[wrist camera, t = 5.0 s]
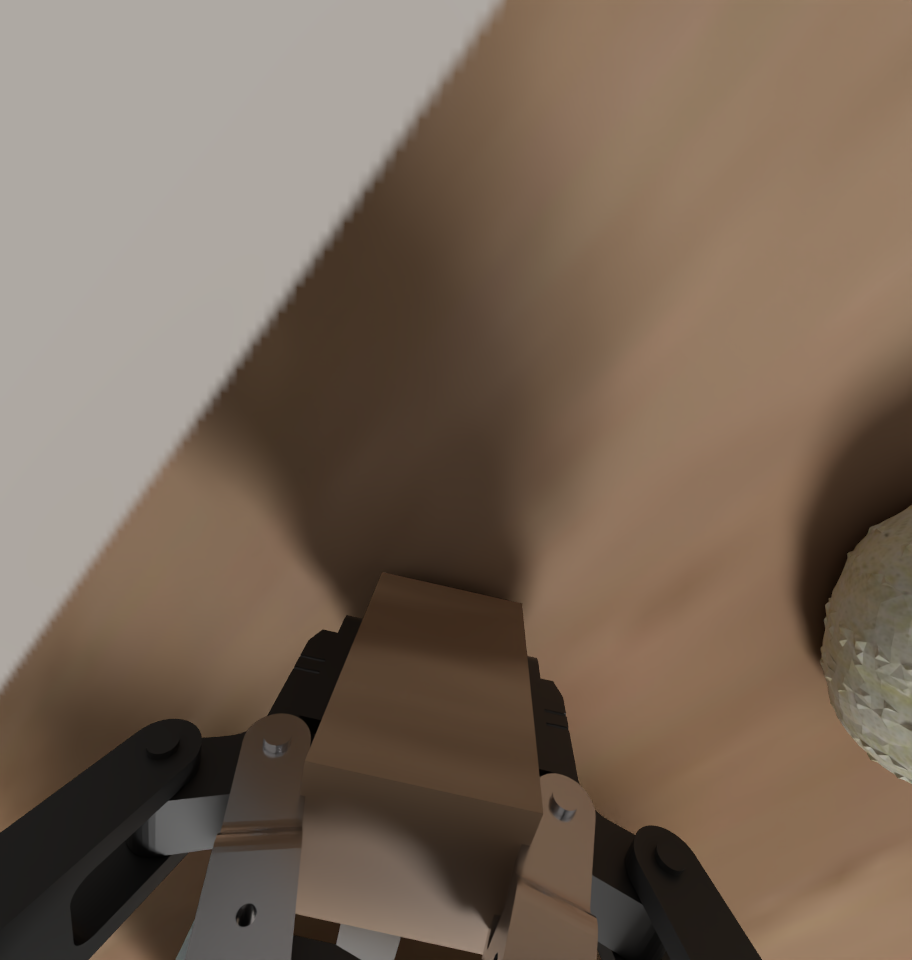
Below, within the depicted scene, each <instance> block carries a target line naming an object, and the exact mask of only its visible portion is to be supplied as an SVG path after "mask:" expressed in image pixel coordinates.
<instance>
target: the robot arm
mask: <svg viewBox="0 0 912 960" xmlns="http://www.w3.org/2000/svg"><path fill="white" fill-rule="evenodd" d="M362 620H363V619H361V618H357V617H352V616H348V615H347V616H346V617H345V619H344V621H343V623H342V625H341V627H340V629H339V632H338V633H336V632H331V631H327V630H322V631H320V632H319V633H318V634H316V635H315V636H314V637H312V638H311V639H310V640H308V642H307V644H306V646H305V648H304V650H303V651H302V653H301V656H300V657H299V659H298V661H297V662H296V664H295V667H294V669H293V670H292V672H291V673H290V675H289V677H288V679H287V681H286V683H285V684H284V686H283V688H282V690H281V692H280V694H279V696H278V697H277V699H276V701H275V703H274V705H273V707H272V708H271V710H270V712H269V714H268V715H267V716H266V717H263V718H261V719H260V720H258V721H257V722H255V723H254V724H253V725H252V726H251V727H250V728H249V729H248V730H247V731H246V732H243V733H241V734H237V735H232V736H222V737H209V738H202V737H201V733H200V731H199V729H198V728H197V727H196V726H195V725H194V724H193V723H191V722H189V721H185V720H181V719H167V720H162V721H158V722H155V723H152V724H150V725H148V726H146V727H144V728H143V729H141V730H140V731H138V732H137V733H135V734H134V735H133V736H131V737H130V738H129V739H127V740H126V741H125V742H123V743H122V744H120V745H119V746H118V747H116V748H115V749H114V750H112V751H111V752H110V753H108V754H107V755H105V756H104V757H103V758H101V759H100V760H99V761H97V762H96V763H95V764H93V765H92V766H91V767H89V768H88V769H86V770H85V771H84V772H82V773H81V774H80V775H78V776H77V777H76V778H74V779H73V780H72V781H70V782H69V783H67V784H66V785H65V786H63V787H62V788H61V789H59V790H58V791H57V792H55V793H54V794H52V795H51V796H50V797H48V798H47V799H46V800H44V801H43V802H42V803H40V804H39V805H38V806H36V807H35V808H33V809H32V810H31V811H29V812H28V813H27V814H25V815H24V816H23V817H21V818H20V819H18V820H17V821H16V822H14V823H13V824H12V825H10V826H9V827H8V828H6V829H5V830H4V831H2V832H1V833H0V960H89V959H90V958H91V957H92V955H93V954H94V953H95V952H96V951H97V950H98V949H99V948H100V947H101V946H102V945H103V944H104V943H105V942H106V940H107V939H108V938H109V937H110V936H111V935H112V934H113V933H114V932H115V931H116V930H117V929H118V928H119V927H120V925H121V924H122V923H123V922H124V921H125V920H126V919H127V918H128V917H129V916H130V915H131V914H132V913H133V912H134V911H135V909H136V908H137V907H138V906H139V905H140V904H141V903H142V902H143V901H144V900H145V899H146V898H147V897H148V896H149V894H150V893H151V892H152V891H153V890H154V889H155V888H156V887H157V886H158V885H159V884H160V883H161V882H162V881H163V879H164V878H165V877H166V876H167V875H168V874H169V873H170V872H171V871H172V870H173V869H174V868H175V867H176V866H177V865H178V863H179V862H180V861H181V860H182V859H183V858H184V857H185V856H186V855H187V854H188V852H194V851H201V850H208V849H212V852H211V856H210V860H209V864H208V868H207V872H206V876H205V880H204V884H203V888H202V892H201V896H200V900H199V904H198V908H197V912H196V916H195V920H194V924H193V928H192V932H191V936H190V940H189V944H188V948H187V952H186V956H185V960H361V959H359V958H357V957H356V956H354V955H352V954H351V953H349V952H347V951H346V950H344V949H342V948H341V947H339V946H338V945H336V944H331V943H327V942H322V941H318V940H313V939H308V938H304V937H299V936H295V935H293V932H294V921H295V911H296V900H297V890H298V879H299V869H300V858H301V848H302V836H303V829H302V825H303V814H304V804H305V796H302V795H300V790H301V783H302V776H303V769H304V763H305V759H306V757H307V754H308V752H309V749H310V747H311V744H312V742H313V739H314V737H315V735H316V732H317V730H318V727H319V725H320V722H321V720H322V717H323V715H324V713H325V710H326V708H327V705H328V703H329V700H330V698H331V696H332V693H333V691H334V688H335V686H336V683H337V681H338V678H339V676H340V674H341V671H342V669H343V666H344V664H345V661H346V659H347V657H348V654H349V652H350V649H351V647H352V644H353V642H354V639H355V637H356V635H357V632H358V630H359V627H360V625H361V622H362ZM527 659H528V669H529V679H530V688H531V698H532V708H533V718H534V727H535V737H536V747H537V756H538V766H539V776H540V785H541V795H542V805H543V816H542V818H541V821H540V823H539V826H538V828H537V831H536V833H535V836H534V838H533V841H532V843H531V846H529V845H524V844H522V845H521V847H520V850H519V852H518V855H517V857H516V860H515V864H514V868H513V873H512V878H511V883H510V887H509V891H508V895H507V899H506V903H505V906H504V909H503V912H502V915H501V916H500V915H496V914H494V916H493V919H492V922H491V924H490V927H489V929H488V934H487V938H486V942H485V947H484V951H483V955H482V959H481V960H597V950H598V952H599V955H600V957H601V960H762V959H761V957H760V956H759V954H758V953H757V951H756V950H755V948H754V947H753V945H752V943H751V942H750V940H749V939H748V937H747V936H746V934H745V932H744V931H743V929H742V928H741V926H740V925H739V923H738V922H737V920H736V918H735V917H734V915H733V914H732V912H731V911H730V909H729V907H728V906H727V904H726V903H725V901H724V900H723V898H722V897H721V895H720V893H719V892H718V890H717V889H716V887H715V886H714V884H713V882H712V881H711V879H710V878H709V876H708V875H707V873H706V872H705V870H704V868H703V867H702V865H701V864H700V862H699V861H698V859H697V857H696V856H695V854H694V853H693V852H692V850H691V849H690V848H689V847H688V846H687V844H686V843H685V842H683V841H682V840H681V839H680V838H679V837H678V836H676V835H675V834H674V833H672V832H670V831H669V830H666V829H664V828H662V827H658V826H645V827H642V828H641V829H639V830H638V832H637V833H636V835H634V834H632V833H630V832H629V831H627V830H625V829H623V828H621V827H619V826H618V825H616V824H614V823H612V822H610V821H609V820H607V819H606V818H604V817H603V816H601V815H600V814H599V813H598V812H597V811H596V810H595V808H594V805H593V802H592V800H591V798H590V797H589V795H588V794H587V792H586V791H585V790H584V789H583V788H582V787H581V786H580V785H579V782H578V777H577V771H576V766H575V760H574V755H573V749H572V744H571V739H570V733H569V731H568V722H567V717H566V711H565V706H564V700H563V697H562V695H561V693H560V692H559V690H558V689H557V687H556V685H555V684H554V682H553V681H549V680H544V679H540V672H539V665H538V660H537V658H534V657H529V656H527Z"/></svg>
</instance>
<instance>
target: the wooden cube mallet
mask: <svg viewBox="0 0 912 960" xmlns="http://www.w3.org/2000/svg"><path fill="white" fill-rule="evenodd" d="M300 795H302V796H305V804H304V814H303V825H302V829H303V836H302V848H301V858H300V869H299V879H298V890H297V900H296V911H295V914H299V915H304V916H308V917H313V918H317V919H322V920H327V921H331V922H336V923H340V924H341V925H340V929H339V934H338V939H337V943H336V945H338V946H339V947H341V948H342V949H344V950H346V951H347V952H349V953H351V954H352V955H354V956H356V957H357V958H359V959H361V960H394V959H395V955H396V952H397V948H398V945H399V942H400V938H401V937H404V938H409V939H414V940H418V941H423V942H427V943H432V944H436V945H441V946H446V947H450V948H455V949H459V950H464V951H469V952H473V953H478V954H482V955H483V951H484V947H485V942H486V938H487V934H488V929H489V927H490V924H491V922H492V919H493V916H494V914H496V915H500V916H501V915H502V912H503V909H504V906H505V903H506V899H507V895H508V891H509V887H510V883H511V878H512V873H513V868H514V864H515V860H516V857H517V855H518V852H519V850H520V847H521V845H522V844H524V845H529V846H531V843H532V841H533V838H534V836H535V833H536V831H537V828H538V826H539V823H540V821H541V818H542V816H543V805H542V795H541V785H540V776H539V766H538V756H537V747H536V737H535V727H534V718H533V708H532V698H531V688H530V679H529V669H528V659H527V650H526V640H525V630H524V621H523V611H522V603H517V602H513V601H508V600H504V599H500V598H495V597H491V596H486V595H482V594H477V593H473V592H468V591H464V590H460V589H455V588H451V587H446V586H442V585H437V584H433V583H428V582H424V581H420V580H415V579H411V578H406V577H402V576H397V575H393V574H388V573H384V572H382V574H381V576H380V578H379V581H378V583H377V586H376V588H375V591H374V593H373V596H372V598H371V600H370V603H369V605H368V608H367V610H366V613H365V615H364V617H363V620H362V622H361V625H360V627H359V630H358V632H357V635H356V637H355V639H354V642H353V644H352V647H351V649H350V652H349V654H348V657H347V659H346V661H345V664H344V666H343V669H342V671H341V674H340V676H339V678H338V681H337V683H336V686H335V688H334V691H333V693H332V696H331V698H330V700H329V703H328V705H327V708H326V710H325V713H324V715H323V717H322V720H321V722H320V725H319V727H318V730H317V732H316V735H315V737H314V739H313V742H312V744H311V747H310V749H309V752H308V754H307V757H306V759H305V763H304V769H303V776H302V783H301V790H300Z"/></svg>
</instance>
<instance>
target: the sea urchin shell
mask: <svg viewBox="0 0 912 960" xmlns="http://www.w3.org/2000/svg"><path fill="white" fill-rule="evenodd" d="M847 558H848V559H847V561H846V564H845V566H844V569H843V571H842V574H841V576H840V578H839V580H838V582H837V584H836V586H835V588H834V589H833V592H832V596H831V598H828V600H829V602H828V603H827V604H826V605H825V609H826V615H827V616H826V617H825V619H824V624H825V633H824V638H823V646H822V647H821V648H820V650H821V653H822V655H821V656H822V658H821V660H820V663H821V666H822V668H823V671H824V675H825V678H826V681H827V685H828V693H829V698H830V703H831V705H832V707H833V708H834V710H835V712H836V715H837V717H838V719H839V720H840V722H841V723H842V725H843V726H844V728H845V729H846V730H847V732H848V733H849V734H850V735H851V736H852V738H853V739H854V740H855V741H856V742H857V744H858V745H859V746H860V747H861V748H862V749H864V750H865V751H866V752H867V754H868V756H869V758H870V760H873V761H876V762H878V763H879V764H880V765H882V766H883V767H884V768H886V769H887V770H889V771H890V772H892V773H893V774H895V775H896V776H897V778H899V779H902V780H905V781H907V782H909V783H911V784H912V504H911V505H910V506H909V507H908V508H907V509H905V510H904V511H902V512H900V513H899V514H897V515H895V516H893V517H891V518H889V519H887V520H885V521H883V522H882V523H880V524H877V525H875V526H872V527H870V528H869V531H868V533H867V535H866V536H865V537H864V538H863V539H862V540H861V541H860V542H859V543H858V545H857V546H856V547H855V549H854V551H851V552H848V553H847Z"/></svg>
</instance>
